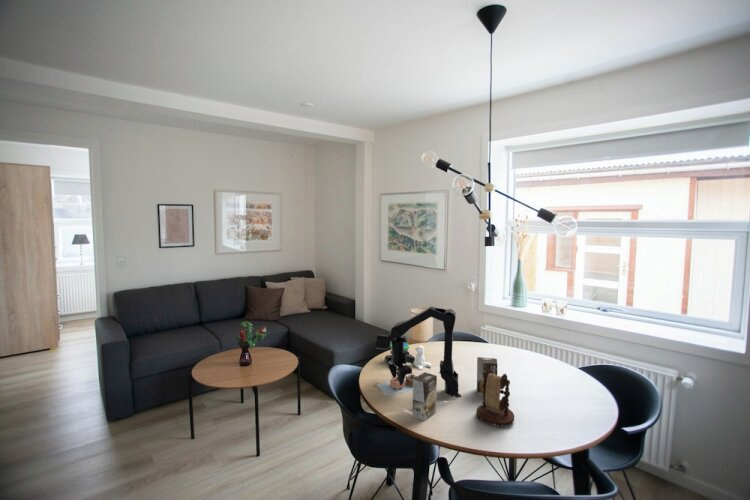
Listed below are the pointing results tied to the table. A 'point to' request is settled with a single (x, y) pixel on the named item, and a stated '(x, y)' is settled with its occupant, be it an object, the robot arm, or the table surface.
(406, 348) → the snack cup
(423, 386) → the coffee box
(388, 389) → the gear board
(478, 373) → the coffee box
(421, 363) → the seated beast figurine
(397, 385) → the salmon gear
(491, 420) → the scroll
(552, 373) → the table surface
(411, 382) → the walnut gear
